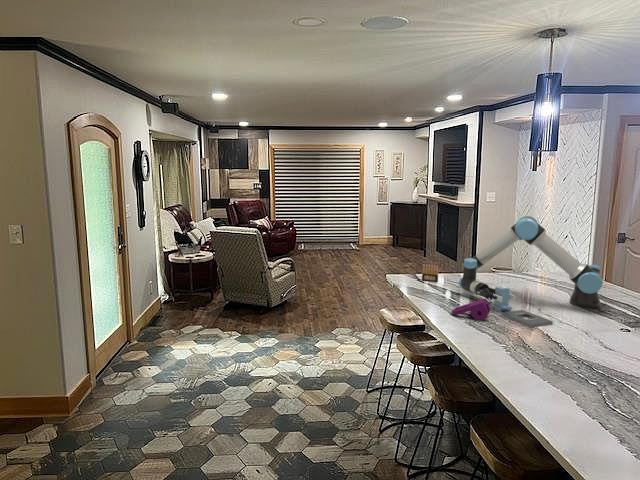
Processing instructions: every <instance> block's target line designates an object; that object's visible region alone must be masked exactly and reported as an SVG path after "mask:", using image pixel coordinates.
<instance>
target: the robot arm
mask: <svg viewBox="0 0 640 480" xmlns="http://www.w3.org/2000/svg"><path fill="white" fill-rule="evenodd" d="M546 232H547V231H546V229H545V228H544V227H543V226H542V225H540V224H539V222H538V221H537V219H535V218H534V217H532V216H528V215H527V216H523V217H521V218H519V220H518V221H517V222H516V223H515V224H513V225H512V226H511V227H510V230H508V231H507V232H505V233H504V234H502V236H500V237H498V238H497V239H496V240H494V241H493V242H492V243H490V244H489V245H488V246H486V247H485V248H483V249H482V250H481V251H479V252H478V253H477V254H475V255H474V256H473V257H467V258H464V260H463V268H462V269H463V271H462V272H463V273H462V277H460V279H459V281H458V286H459V287H460V289H461V290H464V291H467V292H470V293H472V294H474V295H475V296H477V295H478V296H480V297H483V298H484V299H485V298H486V299H487V300H488V299H489V301H492V300H494V301H495V300H497V301H499V302H502V299H503V297H501V296H498V295H495V289H496V287H495V288H492V287H490V286H489V285H488V284H487V283H484V282H481V281H478V280H477V272H478V269H480V268H482V267H483V266H484V265H486V264H487V263H488V262H490V261H491V260H492V259H494V258H495V257H497V256H498V255H500V254H501V253H502V252H504V251H505V250H507V249H508V248H510V247H512V245H514V244H515V243H516V242H518V241H525V243H526V244H527V245H529V246H535V247H536V248H537V249H539V251H540V252H542V254H544V256H546V257H548V258H549V259H550V260H551V261H552V262H553V263H555V265H557V266H558V267H559V268H561V269H562V271H564V272H565V273H566V274H568V275H569V277H568V279H569V280H570V281H571V282H573V284H574V288H573V290H572V294H571V296H570V298H569V303H570V304H571V305H573V306H576V307H582V308H586V309H587V308H588V309H589V308H590V309H594V308H595V309H596V308H597V309H598V308H600V307H601V301H600V296H599V291H600V290H601V289H602V287H603V278H602V277H601V275H600V273H601V267H600V266H599V265H596V264H588V263H581V262H580V261H579V260H578V259H576V257H574V256H573V255H572V254H571V253H569V252H568V251H567V250H566V249H564V247H562V246H561V245H560V244H559V243H558V242H557V241H556V240H554V239H553V238H552V237H550V236H549V235H548V234H547V233H546ZM509 300H511V301H516V295H513V294H512V293H509Z"/></svg>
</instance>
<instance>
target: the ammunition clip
mask: <svg viewBox="0 0 640 480" xmlns="http://www.w3.org/2000/svg"><path fill="white" fill-rule="evenodd" d="M421 282H428V283H429V282H431V283H439V265H438V264H434V265H433V264H431V263H426V265H425V263H423V265H422V274H421Z"/></svg>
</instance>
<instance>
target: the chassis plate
mask: <svg viewBox="0 0 640 480" xmlns="http://www.w3.org/2000/svg"><path fill="white" fill-rule="evenodd" d="M500 312H501V311H500ZM501 316H502V317H504V318H507V319H509V320H512V321H514V322H517V323H519V324H522V325H524V326H526V327H529V328H536V327H543V326H550V325H553V324H554V322H553V320H551V319H547V318H545V317H542V316H540V315H537V314H535V313H533V312H529V311H526V310H524V309H519V310H509V311H504V312H503V311H502V312H501ZM526 318H527V319H526Z"/></svg>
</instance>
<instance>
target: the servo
mask: <svg viewBox="0 0 640 480" xmlns="http://www.w3.org/2000/svg"><path fill="white" fill-rule="evenodd" d="M495 288H496V289H495ZM495 288H494V289H495V295H498V296H501V297H503V299H502V302H499V301H497V300H494V301H493V302H491V303H490V304H491V305H492V306H493V307H494V309H495V310H497V311H500V312H501V311H502V312H503V311H508V310H510V309H512V308H513V307H512V306H510V305H509V304H510V303H509V300H510V299H509V294H510V288H509V287H507V286H505V285H503V286H501V285H500V286H495Z"/></svg>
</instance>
